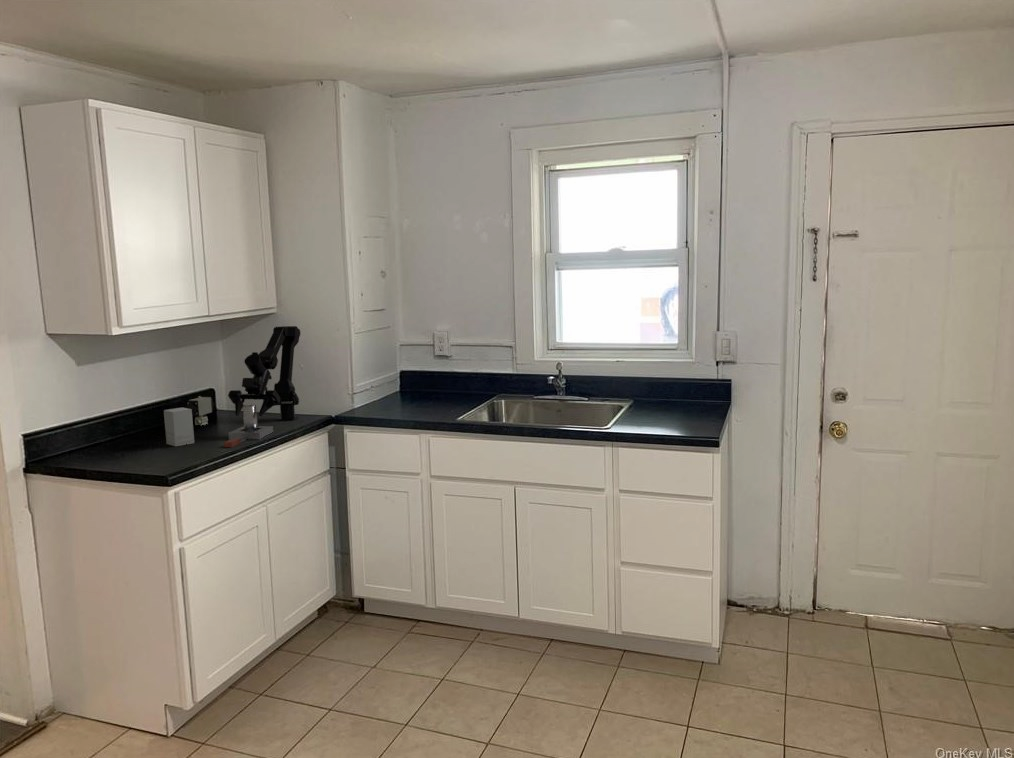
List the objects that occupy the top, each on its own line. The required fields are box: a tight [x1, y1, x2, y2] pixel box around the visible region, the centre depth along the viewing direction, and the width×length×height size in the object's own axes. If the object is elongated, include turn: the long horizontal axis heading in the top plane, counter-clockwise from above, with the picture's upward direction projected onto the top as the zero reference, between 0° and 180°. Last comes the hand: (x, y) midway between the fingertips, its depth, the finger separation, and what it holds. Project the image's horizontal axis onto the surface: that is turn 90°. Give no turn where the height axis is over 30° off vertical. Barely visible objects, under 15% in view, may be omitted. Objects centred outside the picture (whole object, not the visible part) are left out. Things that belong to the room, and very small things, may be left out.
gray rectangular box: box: [223, 425, 274, 448], centre depth 288 cm, size 25×12×2 cm, turn 174°
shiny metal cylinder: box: [242, 404, 258, 431], centre depth 294 cm, size 5×5×11 cm
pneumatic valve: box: [185, 395, 215, 427], centre depth 318 cm, size 6×12×12 cm, turn 162°
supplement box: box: [163, 407, 195, 447], centre depth 284 cm, size 7×7×13 cm
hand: (248, 415), depth 292 cm, fingers open, 9 cm apart
